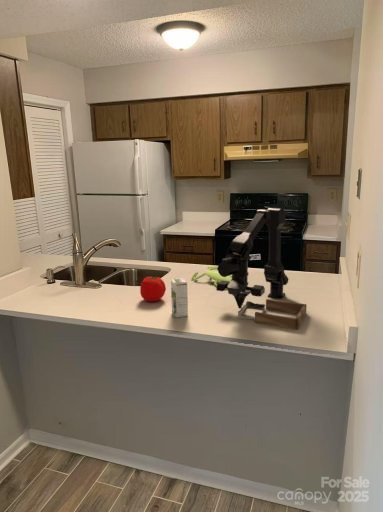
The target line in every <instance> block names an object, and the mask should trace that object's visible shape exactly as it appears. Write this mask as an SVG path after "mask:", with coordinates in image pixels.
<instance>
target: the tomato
mask: <svg viewBox="0 0 383 512" xmlns="http://www.w3.org/2000/svg"><path fill="white" fill-rule="evenodd" d="M139 288H140V289H139V293H140V296H141V298H142V299H143V300H144V301H146V302H153V303H154V302H157V301H160V300H161V299H162V298H163V297H164V295H165V294H166V290H167V289H166V283H165V282H164V280H163V279H162V278H161V277H157V276H156V277H154V276H145V277H144V279H143V280H142V281H141V283H140V287H139Z"/></svg>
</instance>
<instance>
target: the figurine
mask: <svg viewBox="0 0 383 512" xmlns="http://www.w3.org/2000/svg"><path fill="white" fill-rule="evenodd" d="M204 276H206V277H208V278H210V279H211V280H213V281H214V283H213V284H214V286H215V287H216V286H217V284H218V283H219V282H221V281H231V279H232V275H230V276H227V277H222V276H221V275H220V274H219V272H218V266H217V265H213V266H207V270H206V271H205V272H204V273H201V274H200V275H199V272H198V271H196V272H194V273H193V275H192V277H191V279H190V281H192V282H193V281H197V280H199V279H201V278H202V277H204ZM224 291H228V289H226V288H225V290H224Z"/></svg>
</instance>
